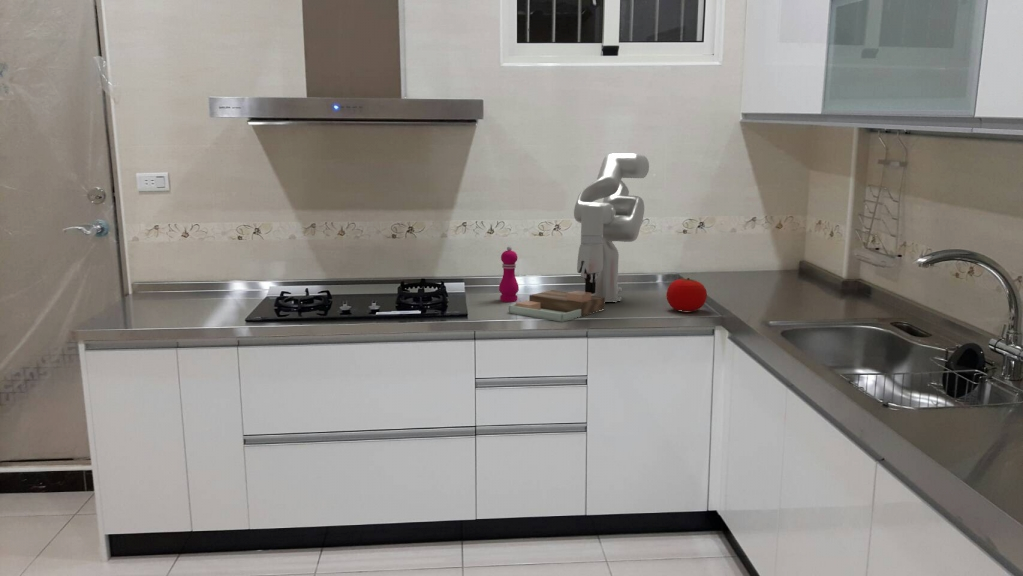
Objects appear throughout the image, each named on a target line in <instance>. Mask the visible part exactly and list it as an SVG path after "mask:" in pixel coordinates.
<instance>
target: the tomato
mask: <svg viewBox="0 0 1023 576" xmlns="http://www.w3.org/2000/svg"><path fill="white" fill-rule="evenodd" d="M666 290H667V291H666V296H665V297H666V301H667V303H668V304H669V307H671V308H672V309H674V310H675V309H676V310H675V311H677V310H682V311H693V312H695V311H694V310H696V311H698V310H699V309H701V308H702V307H703V306H704V305H705V303H706V301H707V297H708V292H707V290H706V287H705V286H704V284H703V283H702V282H700V280H696V279H691V278H690V277H687V278H679V279H676V280H673V281H672V282H671V283H670V284H669V285H668V287H667V289H666Z"/></svg>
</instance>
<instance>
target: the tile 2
mask: <svg viewBox="0 0 1023 576" xmlns="http://www.w3.org/2000/svg"><path fill="white" fill-rule="evenodd" d="M567 292H568V293H567V300H569V301H576V302H585V301H589V300H591V293H590V292H585V291H582V290H573V291H567Z"/></svg>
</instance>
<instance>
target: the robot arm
mask: <svg viewBox="0 0 1023 576" xmlns="http://www.w3.org/2000/svg"><path fill="white" fill-rule="evenodd" d="M649 169H650V162H649V159H648V158H647V156H645V155H642V154H639V153H629V152H627V153H625V152H624V153H623V152H622V153H621V152H620V153H618V152H617V153H616V152H614V153H609V154H607V155H605V157H604V158H603V160H602V163H601V166H600V169H599V171H598V172H599V173H598V175H597V177H596V180H595V181H593V182H591V183H590V184H588V185H587V186H586V187H585V188H583V189H582V190H581V191H580V192H579V193H578V196H577V199H576V202H575V205H574V208H573V218H574V219H575V221H576V222H578V223H580V224H581V225H580V244H579V249H578V254H577V264H576V272H577V273H578V274H580V278H583V279H584V283H585V284H584V285H585V286H584V292H590V293H591V296H598V297H605V302H613V301H619V300H621V301H622V297H621V296H620V295H618V294H619V293H622V292H623V288H622V287H620V286H618V283H619V282H618V280H619V259H620V258H619V250H618V249H617V247H616V245H615V244H614V242H622V243H625V242H626V243H627V242H628V243H630V242H631V243H632V242H635V241H636V240H637V239H638V237H639V234H640V231H641V226H642V223H643V221H644V220H643V219H644V216H645V203H644V200H643V198H642V197H640V196H639V195H630V190H629V188H628V186H627V184H625V182H624V181H622V179H644V178H646V177H647V175H648V174H649ZM600 199H603V200H602V202H597V200H600Z"/></svg>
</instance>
